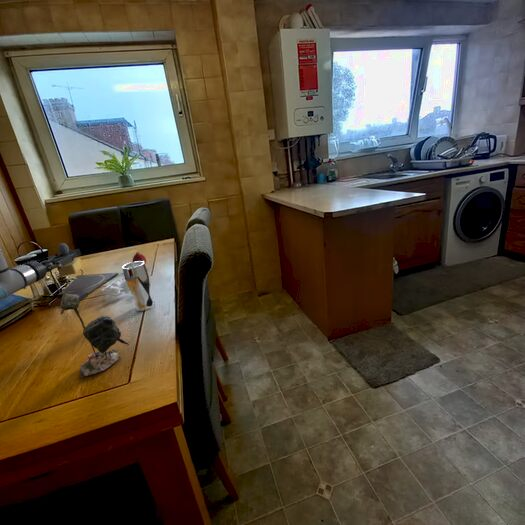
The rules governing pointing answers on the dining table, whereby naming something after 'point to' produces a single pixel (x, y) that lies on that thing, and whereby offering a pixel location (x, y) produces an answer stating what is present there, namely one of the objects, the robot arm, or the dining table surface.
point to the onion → (139, 257)
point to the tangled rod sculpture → (116, 288)
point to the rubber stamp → (70, 267)
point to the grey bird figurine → (96, 338)
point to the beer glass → (139, 284)
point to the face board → (87, 283)
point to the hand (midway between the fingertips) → (76, 252)
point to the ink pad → (80, 295)
